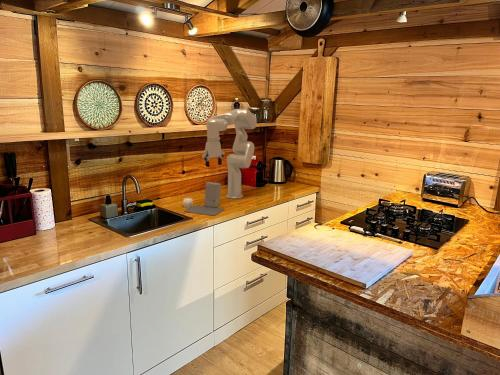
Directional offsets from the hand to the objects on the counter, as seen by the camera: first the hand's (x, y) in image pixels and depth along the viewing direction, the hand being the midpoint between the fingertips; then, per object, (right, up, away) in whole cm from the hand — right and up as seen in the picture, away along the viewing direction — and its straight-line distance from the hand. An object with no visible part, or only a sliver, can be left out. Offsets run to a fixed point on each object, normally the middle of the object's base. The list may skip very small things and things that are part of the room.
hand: (213, 165), depth 249 cm
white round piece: (-18, -27, +6) cm, 33 cm away
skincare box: (-2, -27, +6) cm, 28 cm away
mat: (-6, -29, -4) cm, 30 cm away
